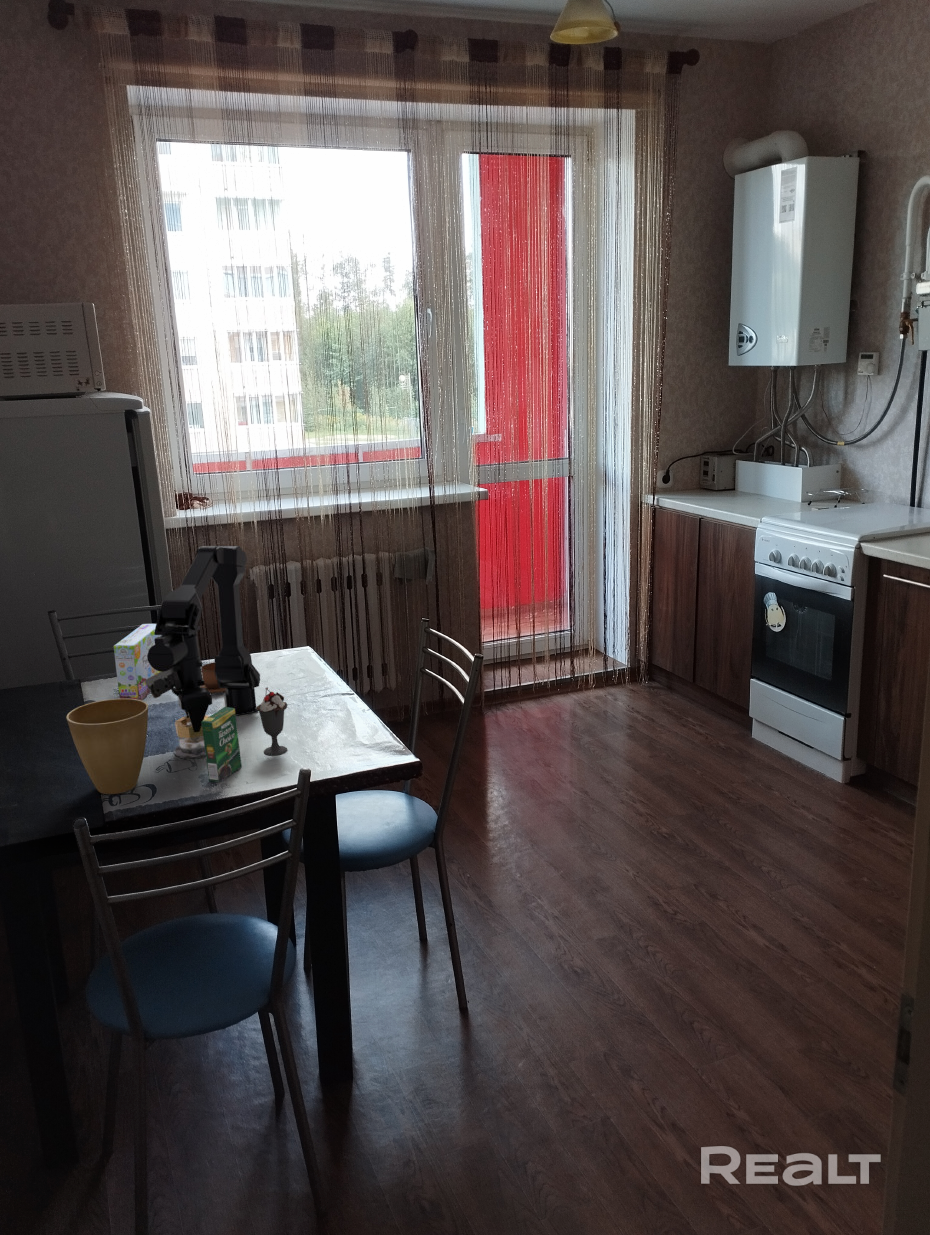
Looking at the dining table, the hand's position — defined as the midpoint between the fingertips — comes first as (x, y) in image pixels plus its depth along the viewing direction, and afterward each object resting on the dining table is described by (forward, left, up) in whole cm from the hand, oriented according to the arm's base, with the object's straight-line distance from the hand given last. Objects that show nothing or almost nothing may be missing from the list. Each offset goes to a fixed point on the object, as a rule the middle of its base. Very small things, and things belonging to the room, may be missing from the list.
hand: (193, 726), depth 205 cm
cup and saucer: (-12, -40, -6) cm, 42 cm away
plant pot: (+17, +11, -6) cm, 21 cm away
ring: (0, 0, -1) cm, 1 cm away
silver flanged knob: (0, 0, -6) cm, 6 cm away
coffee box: (-3, +16, -6) cm, 17 cm away
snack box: (+5, -49, -6) cm, 50 cm away
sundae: (-15, +9, -6) cm, 18 cm away
